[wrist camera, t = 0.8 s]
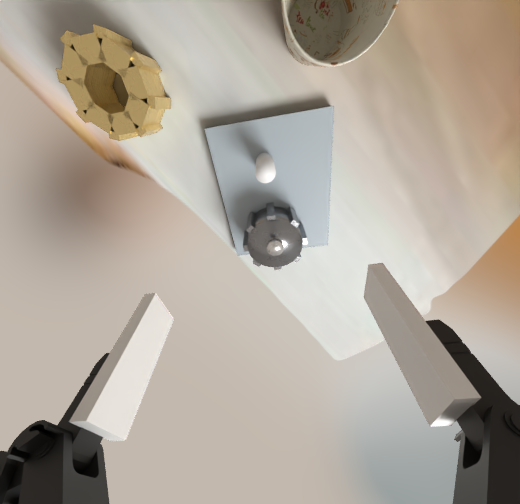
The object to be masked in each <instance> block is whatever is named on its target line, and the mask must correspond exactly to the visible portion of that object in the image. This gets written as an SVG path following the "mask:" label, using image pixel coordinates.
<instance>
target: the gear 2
mask: <svg viewBox="0 0 520 504" xmlns="http://www.w3.org/2000/svg"><path fill="white" fill-rule="evenodd" d="M266 205H267V207H266V208H263V209H261V210H260V211H258V212H257V213H256V214H255V213H254V212H251V213H250V214H249V216H248V220H247V229H246V230H245V232H244V239H243V249H244V252H246V251H249V253H250V255H251V257H252V258H253V264H255V265H257V266H260V265H261V264H262V265H264V266H268V267H274V269H275V270H277V269H281V266H284V265H287V264H289V263H291V262H292V261H295V262H297V261H298V260H300V259H301V255H300V252H301V250H302V246H303V245H305V244H307V236H306V233H305V230H304V227H303V224H302V223H299V220H298V217H297V214H296V211H295V210H294V209H293V208H292V207H290V206H289V208H288V209H285V208H283V207H278V206H274V202H271V203H266Z"/></svg>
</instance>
